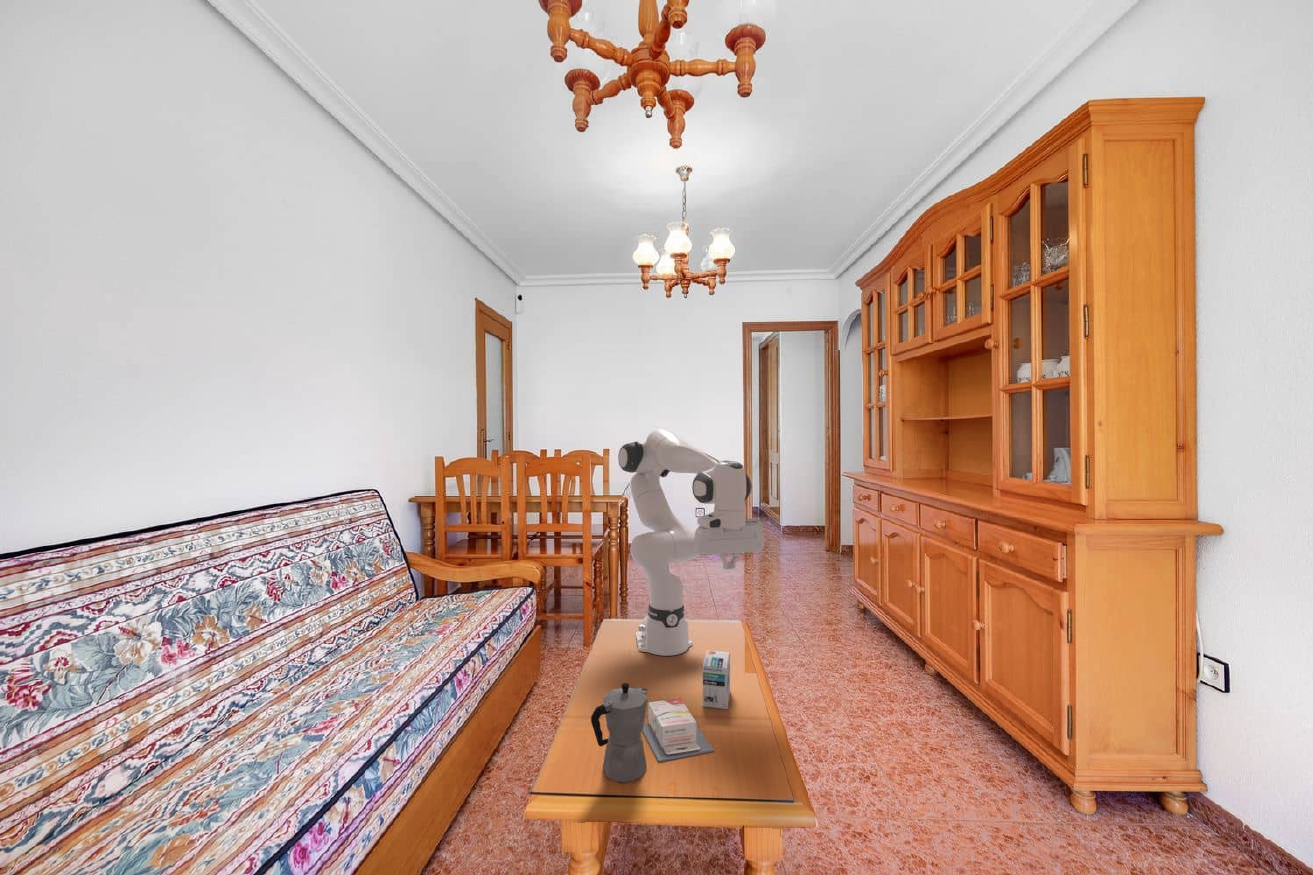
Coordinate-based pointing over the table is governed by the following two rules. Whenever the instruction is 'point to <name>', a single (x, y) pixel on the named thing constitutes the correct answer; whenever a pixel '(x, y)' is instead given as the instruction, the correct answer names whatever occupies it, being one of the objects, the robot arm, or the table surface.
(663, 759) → the mat
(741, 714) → the table surface
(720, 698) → the light bulb box
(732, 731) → the table surface
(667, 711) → the ink cartridge box
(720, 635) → the table surface
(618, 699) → the coffeepot
